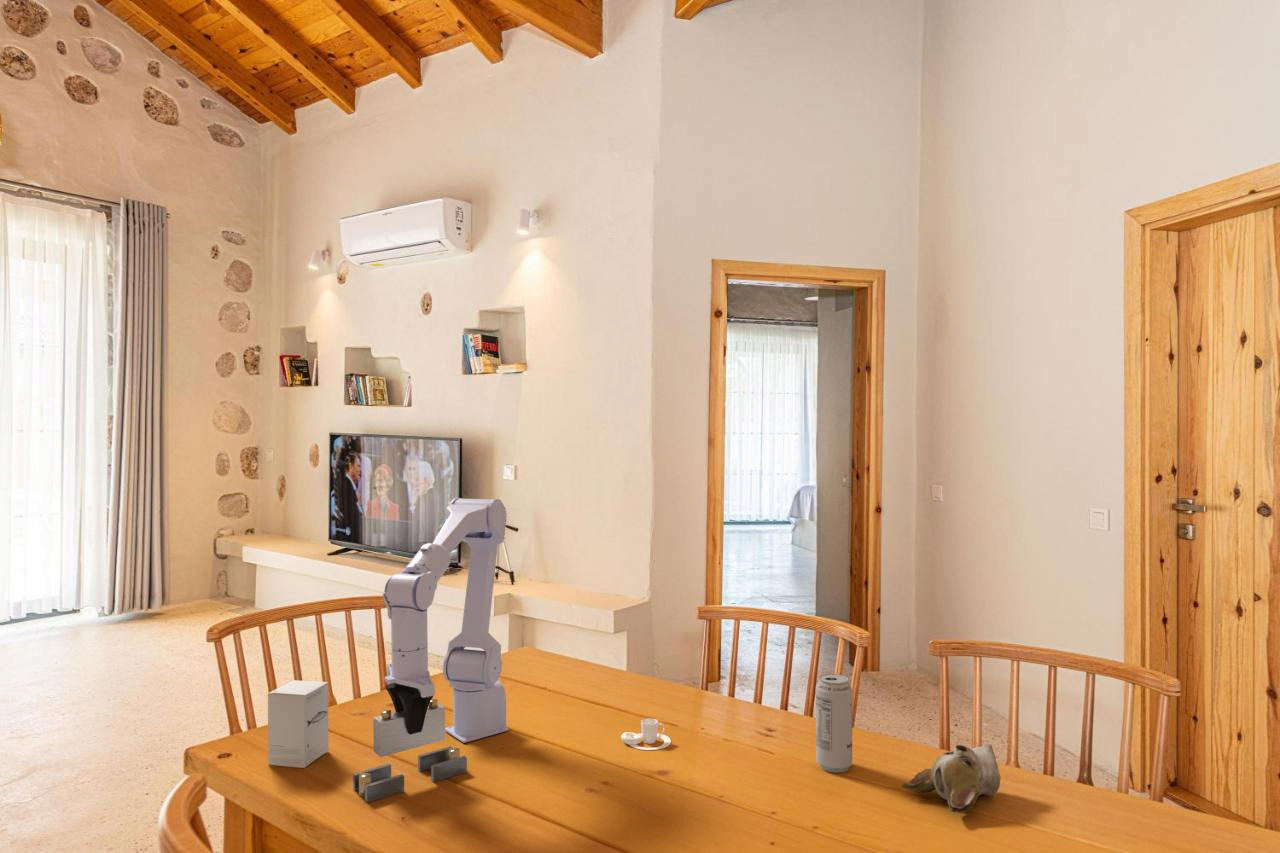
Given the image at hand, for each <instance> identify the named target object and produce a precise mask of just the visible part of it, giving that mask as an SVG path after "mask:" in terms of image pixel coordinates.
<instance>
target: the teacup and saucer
mask: <svg viewBox="0 0 1280 853" xmlns="http://www.w3.org/2000/svg"><path fill="white" fill-rule="evenodd" d="M659 726H662V727H663V729H662V731H661V733H659V732H658V730H659V729H658V728H659ZM640 727H641V733H640V732H639V733H636V732H635V733H634V732H633V731H631V732H629V731H626V732H623V733H622V734H621V736H620V738H621V741H622V742H623V743H625V744H627V745H629V746H630V747H632V748H633V749H636V750H642V751H657V750H663V749H665V748H668V747H669V746H671V744H672V740H671V738H670V737H669V736H668V735H665V734H663V733H664V732H665V725H664V724H663V723H661V722H659V721H658V719H656V718H650V717H648V718H644V719H641V721H640ZM659 739H662V740H663V741H664V742H663V744H661V745H659V746H655V747H643V746H640V745H639V744H641V742H642V741H643V743H645V744H649V745H651V744H655V743H656V741H657V740H659Z"/></svg>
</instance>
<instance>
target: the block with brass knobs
mask: <svg viewBox="0 0 1280 853" xmlns="http://www.w3.org/2000/svg"><path fill="white" fill-rule="evenodd" d="M372 719H373V720H372V721H373V722H372V723H373V727H372V728H373V732H372V733H373V736H372V737H373V752H374V753H375V754H376V755H377V756H379V758H383V757H386V756H391V755H394V754H399V753H401V752H404V751H405V752H406V751H408V750H409V751H410V750H413V749H416V748H420V747H423V746H427V745H431V744H434V743H438V742H442V741H445V740H446V731H445V728H446V707H445V706H444V705H442V704H441V703H439V702H438V699H437V698H432V700H431V702H430V704H429V706H428V709H427V712H426V716H425V720H424V724H423V728H422V732H419V733H415V734H411V735H410V734H408V731H407V726H406V718H405V712H404V710H402V711H398V712H395V711H394V712H392V710H390V709H384V710H381V711H380V715H377V716H373V718H372Z"/></svg>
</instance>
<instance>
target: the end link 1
mask: <svg viewBox="0 0 1280 853" xmlns="http://www.w3.org/2000/svg"><path fill="white" fill-rule="evenodd" d="M352 780H353V781H352V786H353V788H352V789H353V791H354V792H356V791H358V796H359V797H361V798H364V800H365V802H366V803H367V804H369V803H372V802H375V801H377V800H381V799H384V798H387V797H390V796H394V795H397V794H401V793H403V792H405V775H404V774H402V773H401V774H399V775H395V776H392V764H391V763H386V764H383V765H380V766H376V767H372V768H368V769H365V770H362V771H358V772H355V773H352Z"/></svg>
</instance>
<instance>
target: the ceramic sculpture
mask: <svg viewBox="0 0 1280 853" xmlns="http://www.w3.org/2000/svg"><path fill="white" fill-rule="evenodd" d="M996 758H997V757H996V755H995V751H994V749H993V746H992V744H990V743H987V744H985V745H983V746H982V745H981V746H977V747H973V748H969V747H968V746H967V747H966V746H965V745H956V746H954V748H953V749H952V751H949V752H944V753H942V755H939V756H937V757H936V758H935V760H934V762H933V763H932V766H931V768H924V769H923V770H922V771H921V772H918V773H917V774H916V775H914V777H913V778H912V779H911V780H910V781H909V782H905V783H903V784H901V787H902V788H904V789H906V790H909V791H912V792H915V793H920V794H928V793H932V792H934V791H935V792H936V793H937V795H938V796H939V797H941V798H942V799H944V800H945V801H947V805H948V807H949V811H950V812H952V813H966V812H968V811H970V810H971V809H972V808H973V807H974V805H975V804H976V802H977V801H978V799H979V796H981V795H984V796H985V795H986V796H994V795H996V793H998V791H999V789H1000V786H1001V774H1000V771H999V766H998V762H997V759H996Z"/></svg>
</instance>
